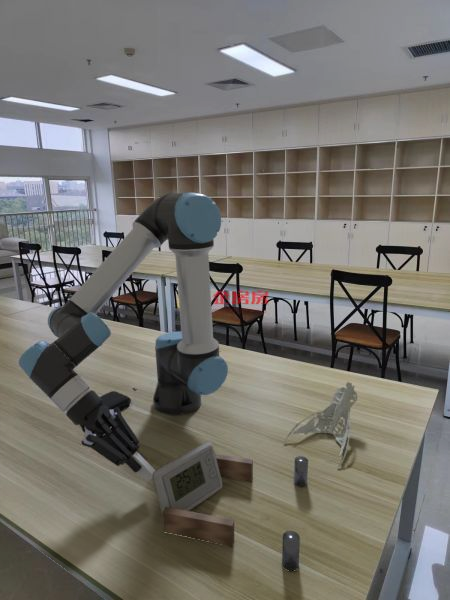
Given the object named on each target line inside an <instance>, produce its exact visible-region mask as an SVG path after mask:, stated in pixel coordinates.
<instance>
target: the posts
mask: <svg viewBox="0 0 450 600" xmlns="http://www.w3.org/2000/svg"><path fill="white" fill-rule="evenodd" d="M293 468H294V469H293V472H294V473H293V484H294V485H295V486H296V487H297V488H305V487H307V486H308V476H309V474H308V472H309V471H308V470H309V460H308V458H307V457H305V456H303V455H301V456H300V455H299V456H296V457H294V467H293ZM300 543H301V536H300V535H299V533H298V532H296V531H293V530H286V531H285V532H284V533H283V534H282V547H281V548H282V549H281V552H282V554H281V566H282V565H283V566H282V568H283V567H284V568H285V569H287V570H289V571H294V570H296V569H297V568H298V569H299V566H300V547H301V546H300V545H301V544H300ZM284 568H283V569H284ZM285 569H284V570H285ZM298 569H297V570H298ZM287 570H286V571H287ZM297 570H296V571H297ZM289 571H288V572H289ZM294 572H295V571H294Z"/></svg>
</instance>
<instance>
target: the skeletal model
mask: <svg viewBox="0 0 450 600" xmlns="http://www.w3.org/2000/svg"><path fill="white" fill-rule="evenodd" d="M357 401H358V394H357V392H356V390H355V385H353V382H351V381H346V384H345V387H344V386H342V387H340V388H337V389H336V390H335V391H334V393H333V398H332V400H331V402H330V403H329V404H328V405H327V406H326V407H325V408H324V409H321V410H318V411H316V412H314V413H311V414H310V415H308V416H307V417H305V418H303V419H301V421H299V422H298V423H296V425H294V427H293V428H292V429H291V430H290V432H289V433H288V434H287V436H286V437H285V440H284V442H283V445H285V444H286V442H287V440H288V438H289V437H290V436H291V435H295V434H304V435H307V434H309V433H317V434H319V433H320V434H321V433H322V434H331V435H333V438H334V439H335V441H336V442H338V444H339V445H340V447H341V448H340V453H339V455H338V457H341V456H342V455H343V451H344V449H345V452H344V455H343V457H342V460H341V462H340V463H339V464H338V467H337V470H338V469H340V467H341V465H342V464H343V463H344V460H345V458H346V455H347V452H348V450H349V444H350V443H349V442H350V435H351V429H352V428H351V426H352V424H351V420H350V413H351V410H352V409H351V408H352V407H353V406H354V404H355V403H356V402H357ZM314 415H316V416H314ZM310 417H311V418H310ZM309 418H310V419H309ZM341 418H342V419H341ZM307 419H309V421H307V422H306V423H305V424H304V425H302V426H300V424H301V423H303V422H304V421H306V420H307ZM317 419H318V420H317ZM316 420H317V422H316ZM315 422H316V424H315ZM338 425H339V426H340V427H339V426H338ZM298 426H300V427H299V428H297V427H298ZM336 427H337V430H336ZM296 428H297V429H296ZM346 442H347V443H346ZM345 446H346V448H345Z"/></svg>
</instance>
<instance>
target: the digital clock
mask: <svg viewBox="0 0 450 600" xmlns="http://www.w3.org/2000/svg"><path fill="white" fill-rule="evenodd" d="M215 454H216V453H215V450H214V446H213V443H212V442H211V441H206V442H204V443H202V444H201V445H199V446H197V447H196V446H195V447H194V448H192V449H190V450H188V451H187V452H185V453H183V454H181V455H180V456H178V457H176V458H174V459H173V460H170V461H168V462H167V463H166V464H165V465H163V466H161V467H160V468H158V469H155V471H154V472H153V475H152V477H153V478H152V482H153V486H154V489H155V490H154V491H155V493H156V496H157V500H158V504H159V507H160V508H159V509H160V513H161V515H162V517H163V511H164V509H165V507H169V508H175V509H180V510H185V511H189V510H190V511H191V510H193V509H194V508H196V507H197V506H199V505H200V504H202V503H203V502H205V501H206V500H207V499H209V498H210V497H212V496H213V495H214V494H215V493H217V492H218V491H219V490H221V489H222V488H223V480H222V477H221V475H220V472H219V468H218V464H217V460H216V456H215ZM195 506H196V507H195Z"/></svg>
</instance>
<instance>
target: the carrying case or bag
mask: <svg viewBox="0 0 450 600" xmlns="http://www.w3.org/2000/svg"><path fill="white" fill-rule="evenodd" d="M99 397H100V398H101V399H102V405H104V406H105V407H107V408H108V409H109V410H114V409H115V408H116V407H118V408H119V409H121V410H123V409H124V408H126V407H128V406H129V405H130V404H131V402H132V398H130V397H129V396H127V395H125V394H123V393H121V392H118V391H117V390H113V391H110V392H107V393H105V394H103V395H101V396H99ZM122 408H123V409H122Z"/></svg>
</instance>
